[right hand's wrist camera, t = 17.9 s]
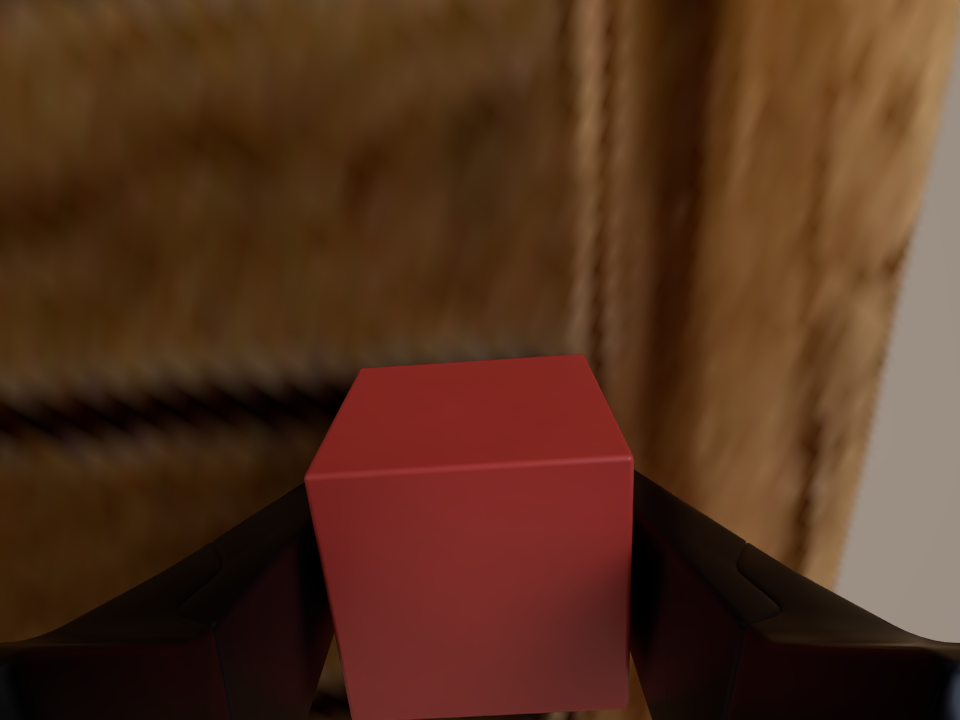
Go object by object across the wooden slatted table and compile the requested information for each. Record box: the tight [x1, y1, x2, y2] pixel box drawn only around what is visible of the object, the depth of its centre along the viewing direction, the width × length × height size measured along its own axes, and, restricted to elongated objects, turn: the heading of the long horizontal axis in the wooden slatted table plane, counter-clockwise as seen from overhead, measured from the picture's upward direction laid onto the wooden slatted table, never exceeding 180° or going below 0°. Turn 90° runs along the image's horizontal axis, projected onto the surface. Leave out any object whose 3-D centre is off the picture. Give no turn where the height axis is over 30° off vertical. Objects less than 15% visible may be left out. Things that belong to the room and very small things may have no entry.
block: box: [304, 354, 634, 720], centre depth 10 cm, size 4×4×4 cm
